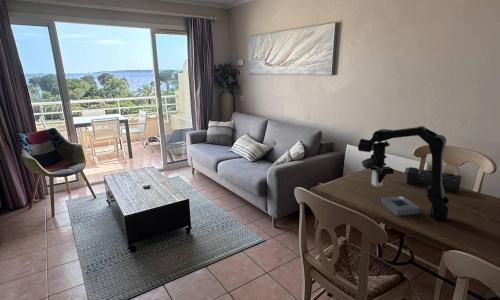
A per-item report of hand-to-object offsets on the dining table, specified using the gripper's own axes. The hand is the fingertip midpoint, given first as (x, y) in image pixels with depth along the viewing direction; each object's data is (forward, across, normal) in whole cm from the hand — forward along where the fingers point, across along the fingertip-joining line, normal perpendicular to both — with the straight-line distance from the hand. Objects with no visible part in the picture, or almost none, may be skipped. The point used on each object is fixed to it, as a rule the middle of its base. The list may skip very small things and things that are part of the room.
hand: (377, 181), depth 151 cm
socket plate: (+12, +10, +7) cm, 17 cm away
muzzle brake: (+12, -12, +41) cm, 45 cm away
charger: (+2, 0, 0) cm, 2 cm away
